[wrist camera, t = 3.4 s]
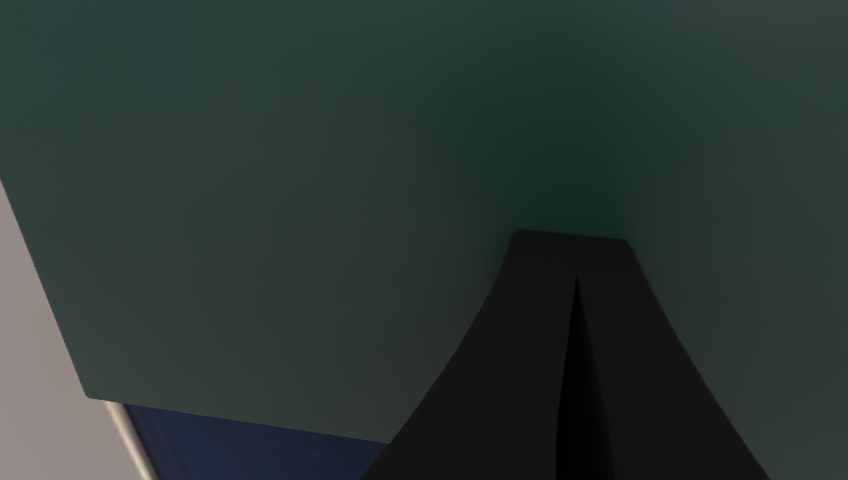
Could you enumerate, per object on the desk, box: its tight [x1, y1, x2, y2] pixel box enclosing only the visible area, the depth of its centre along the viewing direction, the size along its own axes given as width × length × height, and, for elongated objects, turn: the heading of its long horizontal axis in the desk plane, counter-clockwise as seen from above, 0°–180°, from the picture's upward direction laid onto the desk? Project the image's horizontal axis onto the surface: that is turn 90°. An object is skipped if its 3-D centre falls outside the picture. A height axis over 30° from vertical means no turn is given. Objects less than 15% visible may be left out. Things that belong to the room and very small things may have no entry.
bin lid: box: [0, 0, 848, 480], centre depth 8 cm, size 11×15×1 cm
